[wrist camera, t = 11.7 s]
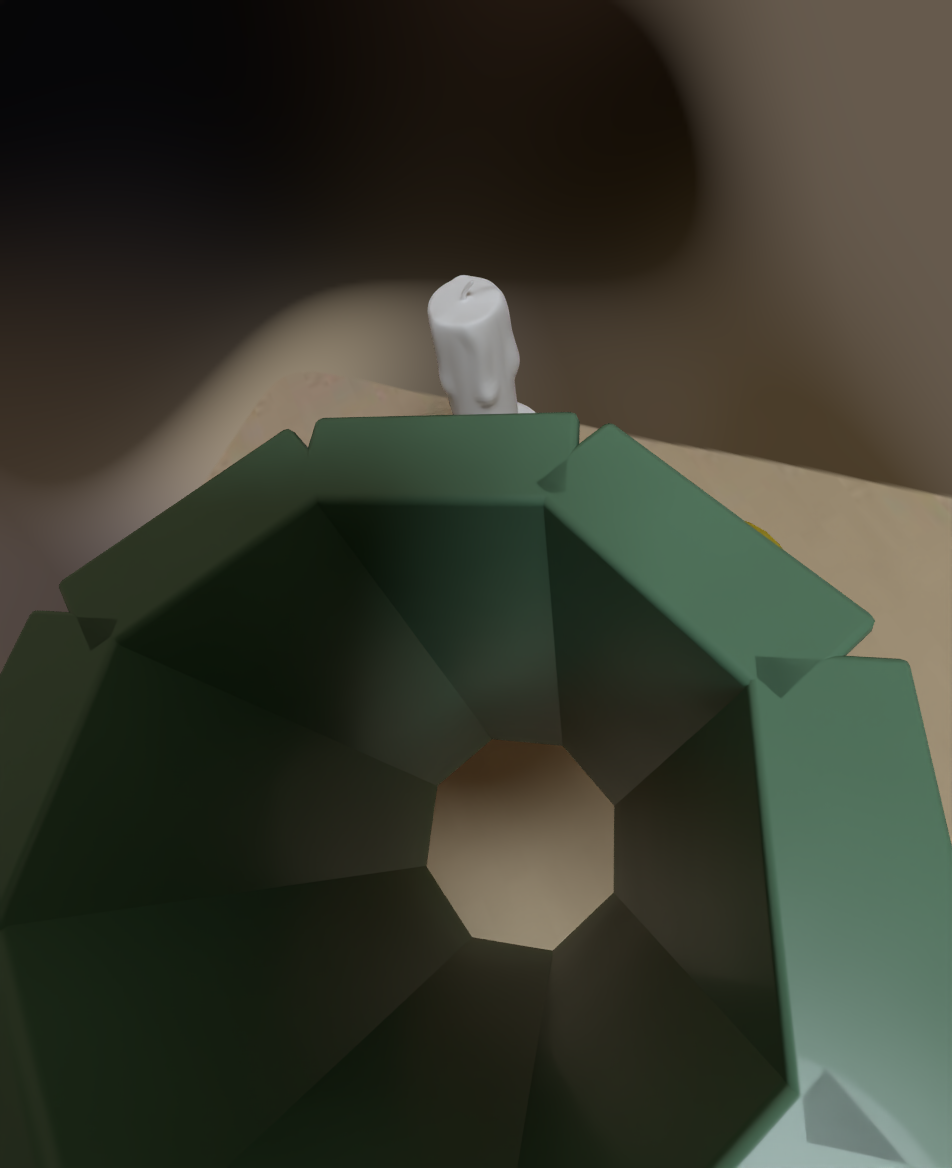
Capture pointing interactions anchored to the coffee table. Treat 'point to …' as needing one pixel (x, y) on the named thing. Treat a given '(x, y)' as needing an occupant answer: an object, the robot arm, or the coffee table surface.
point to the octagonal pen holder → (404, 820)
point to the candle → (475, 347)
